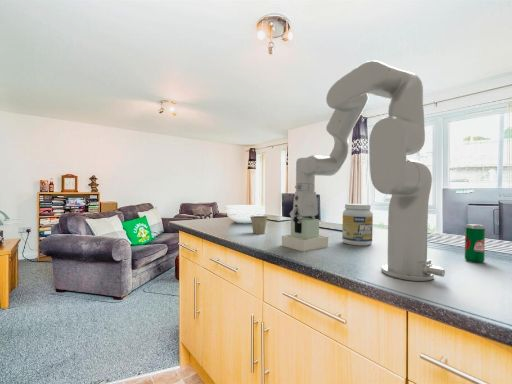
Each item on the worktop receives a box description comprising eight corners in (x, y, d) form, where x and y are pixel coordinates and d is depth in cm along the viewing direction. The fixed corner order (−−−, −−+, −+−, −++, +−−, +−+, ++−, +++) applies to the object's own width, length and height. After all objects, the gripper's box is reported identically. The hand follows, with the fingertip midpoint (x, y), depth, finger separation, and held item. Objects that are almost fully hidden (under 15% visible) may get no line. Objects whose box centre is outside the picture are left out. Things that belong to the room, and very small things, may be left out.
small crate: (318, 236, 107) (319, 219, 107) (306, 238, 103) (307, 220, 103) (302, 233, 114) (302, 217, 114) (290, 235, 110) (290, 218, 110)
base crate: (328, 247, 108) (328, 236, 108) (303, 252, 100) (303, 240, 100) (305, 242, 118) (305, 232, 118) (281, 246, 109) (281, 235, 109)
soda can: (476, 263, 84) (477, 226, 84) (460, 259, 89) (461, 224, 89) (488, 262, 86) (489, 225, 85) (472, 258, 90) (472, 223, 90)
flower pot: (247, 232, 141) (247, 216, 141) (263, 231, 145) (263, 215, 145) (254, 235, 132) (254, 218, 132) (271, 234, 136) (271, 217, 136)
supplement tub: (356, 247, 107) (356, 205, 107) (336, 241, 119) (336, 203, 118) (378, 245, 112) (379, 204, 112) (357, 239, 123) (358, 203, 123)
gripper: (296, 188, 100) (296, 235, 101) (326, 188, 111) (325, 231, 111) (283, 188, 106) (282, 232, 107) (312, 188, 117) (312, 228, 117)
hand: (304, 231), depth 109 cm, fingers closed on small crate, 7 cm apart
